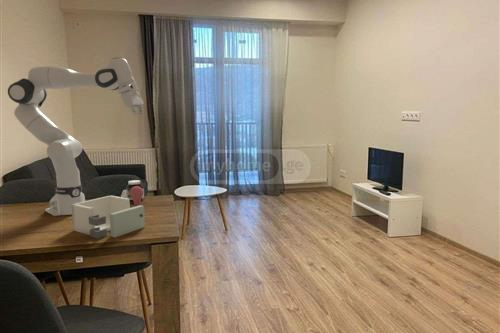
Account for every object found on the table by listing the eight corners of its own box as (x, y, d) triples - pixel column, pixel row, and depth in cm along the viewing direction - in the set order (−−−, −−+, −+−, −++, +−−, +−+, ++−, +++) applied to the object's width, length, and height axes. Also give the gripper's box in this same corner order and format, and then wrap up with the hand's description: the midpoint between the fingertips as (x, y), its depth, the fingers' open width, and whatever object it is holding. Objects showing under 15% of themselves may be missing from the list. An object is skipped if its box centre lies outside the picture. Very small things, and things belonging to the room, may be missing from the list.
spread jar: (146, 199, 210) (145, 180, 208) (131, 203, 200) (129, 184, 198) (132, 197, 216) (131, 179, 214) (117, 201, 206) (116, 182, 205)
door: (111, 236, 146) (109, 213, 145) (141, 226, 159) (140, 205, 158) (116, 237, 144) (114, 214, 143) (146, 227, 158) (145, 206, 156)
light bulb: (131, 209, 187) (130, 188, 186) (129, 206, 194) (128, 185, 192) (145, 208, 191) (144, 186, 189) (142, 205, 197) (141, 184, 195)
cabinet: (71, 230, 154) (69, 204, 152) (112, 218, 171) (110, 195, 169) (97, 238, 143) (95, 210, 142) (138, 225, 161) (136, 200, 159)
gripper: (129, 91, 188) (139, 115, 191) (116, 90, 168) (127, 117, 171) (140, 87, 188) (150, 111, 191) (128, 86, 168) (139, 113, 171)
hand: (139, 114), depth 181 cm, fingers open, 8 cm apart
